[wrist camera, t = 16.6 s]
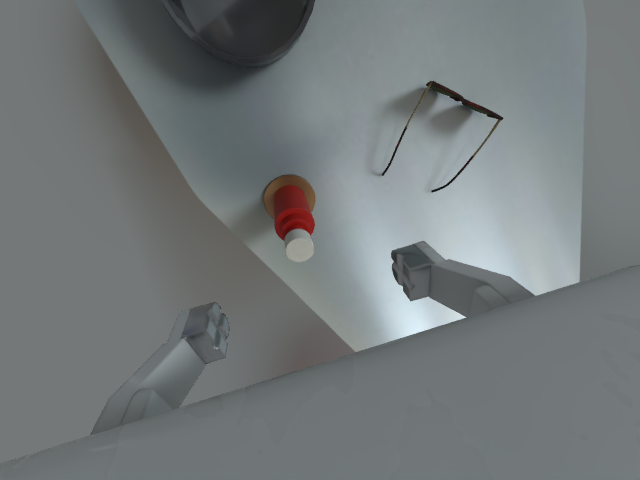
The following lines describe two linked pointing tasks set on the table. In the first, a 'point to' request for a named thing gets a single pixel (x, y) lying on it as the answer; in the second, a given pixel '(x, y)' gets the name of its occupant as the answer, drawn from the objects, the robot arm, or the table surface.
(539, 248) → the table surface
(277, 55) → the pan
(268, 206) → the coaster
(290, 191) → the sauce bottle
